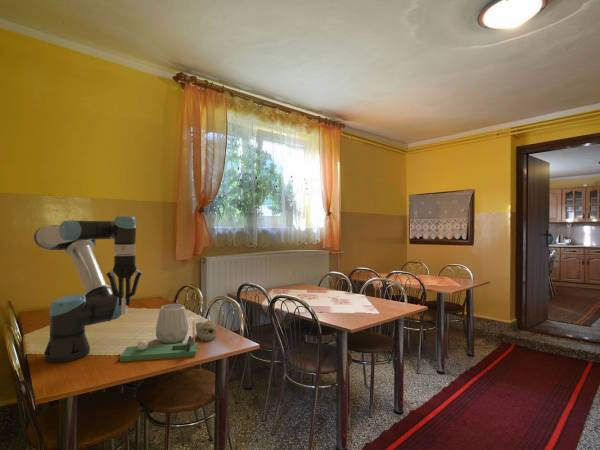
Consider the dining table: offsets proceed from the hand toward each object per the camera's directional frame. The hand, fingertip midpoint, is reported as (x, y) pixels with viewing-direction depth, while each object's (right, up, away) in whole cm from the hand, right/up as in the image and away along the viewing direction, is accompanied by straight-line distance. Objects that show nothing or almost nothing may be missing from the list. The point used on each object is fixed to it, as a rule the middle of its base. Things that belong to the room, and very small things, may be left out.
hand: (124, 313), depth 135 cm
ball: (+6, -15, +2) cm, 17 cm away
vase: (+11, -18, +20) cm, 29 cm away
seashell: (+26, -18, +24) cm, 40 cm away
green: (+13, -17, +3) cm, 22 cm away
